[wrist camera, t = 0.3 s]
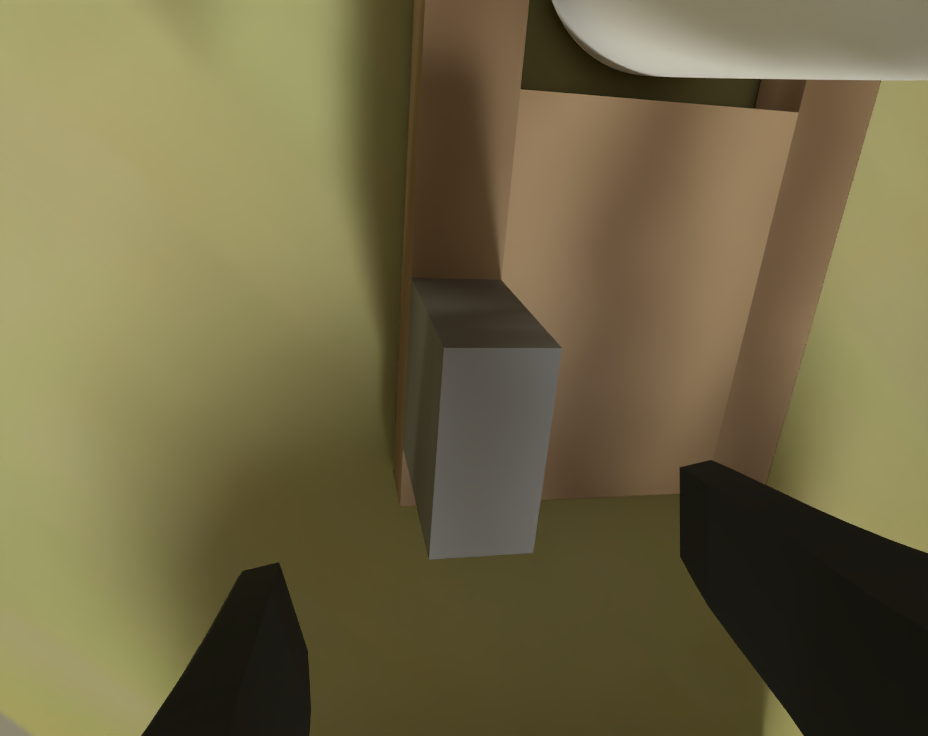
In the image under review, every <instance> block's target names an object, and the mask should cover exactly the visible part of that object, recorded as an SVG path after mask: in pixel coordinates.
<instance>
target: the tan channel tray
mask: <svg viewBox="0 0 928 736" xmlns="http://www.w3.org/2000/svg"><path fill="white" fill-rule="evenodd" d="M528 10H529V0H414V10H413V32H412V55H411V78H410V101H409V124H408V146H407V169H406V192H405V215H404V238H403V261H402V283H401V306H400V329H399V352H398V375H397V397H396V420H395V443H394V466H393V473H394V478H395V483H396V488H397V493H398V499H399V504H400V507H407V506H417V510H418V515H419V519H420V523H421V527H422V532H423V536H424V540H425V545H426V549H427V553H428V558H429V560H432V559H448V558H463V557H479V556H495V555H511V554H526V553H533V551H534V544H535V537H536V530H537V523H538V516H539V509H540V502H541V500H556V499H577V498H599V497H620V496H641V495H663V494H680V467H683V466H687V465H691V464H696V463H700V462H704V461H708V460H713V461H715V462H717V463H720V464H722V465H724V466H727V467H729V468H731V469H733V470H735V471H737V472H740V473H742V474H744V475H746V476H748V477H750V478H752V479H754V480H756V481H758V482H760V483H763V484H765V485H766V482H767V479H768V475H769V472H770V468H771V465H772V461H773V458H774V454H775V451H776V447H777V444H778V440H779V437H780V433H781V430H782V426H783V423H784V419H785V416H786V412H787V409H788V405H789V402H790V398H791V395H792V391H793V388H794V384H795V381H796V377H797V374H798V370H799V367H800V363H801V360H802V356H803V353H804V349H805V346H806V342H807V339H808V335H809V332H810V328H811V325H812V321H813V318H814V314H815V311H816V307H817V304H818V300H819V297H820V293H821V290H822V286H823V283H824V279H825V276H826V272H827V269H828V265H829V262H830V258H831V255H832V251H833V247H834V244H835V240H836V237H837V233H838V230H839V226H840V223H841V219H842V216H843V212H844V209H845V205H846V202H847V198H848V195H849V191H850V188H851V184H852V181H853V177H854V174H855V170H856V167H857V163H858V160H859V156H860V153H861V149H862V146H863V142H864V139H865V135H866V132H867V128H868V125H869V121H870V118H871V114H872V111H873V107H874V104H875V100H876V97H877V93H878V90H879V86H880V83H881V80H805V79H761V83H760V88H759V92H758V97H757V101H756V106H755V109H751V108H739V107H727V106H715V105H703V104H691V103H679V102H667V101H655V100H643V99H632V98H620V97H608V96H596V95H584V94H572V93H560V92H548V91H536V90H524V89H521V79H522V69H523V59H524V50H525V40H526V30H527V20H528Z"/></svg>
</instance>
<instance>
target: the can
mask: <svg viewBox="0 0 928 736" xmlns="http://www.w3.org/2000/svg"><path fill="white" fill-rule="evenodd" d="M552 2H553V5H554V7H555V10H556V12H557V14H558V16H559V18H560V20H561V22H562V24H563V25H564V27H565V28H566V30H567V31H568V33H569V34H570V36H571V37H572V38H573V39H574V40H575V42H576V43H577V44H578V45H579V46H580V47H581V48H582V49H583V50H585V51H586V52H587V53H588V54H589V55H591V56H592V57H593V58H595V59H596V60H598V61H599V62H601V63H603V64H605V65H607V66H609V67H611V68H613V69H616V70H619V71H622V72H625V73H630V74H634V75H642V76H657V77H690V78H740V79H805V80H928V0H552Z"/></svg>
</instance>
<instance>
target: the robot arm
mask: <svg viewBox="0 0 928 736" xmlns="http://www.w3.org/2000/svg"><path fill="white" fill-rule="evenodd" d="M680 557H681V559H682V561H683V562H684V564H685V566H686V568H687V570H688V572H689V573H690V575H691V577H692V579H693V581H694V583H695V584H696V586H697V588H698V590H699V591H700V593H701V595H702V596H703V598H704V600H705V601H706V603H707V605H708V606H709V608H710V609H711V610H712V612H713V613H714V615H715V616H716V617H717V619H718V620H719V621H720V623H721V624H722V625H723V627H724V628H725V630H726V631H727V632H728V634H729V635H730V636H731V638H732V639H733V640H734V642H735V643H736V644H737V646H738V647H739V648H740V650H741V651H742V652H743V654H744V655H745V656H746V658H747V659H748V660H749V662H750V663H751V664H752V666H753V667H754V668H755V670H756V671H757V672H758V674H759V675H760V676H761V678H762V679H763V680H764V682H765V683H766V684H767V685H768V687H769V688H770V689H771V691H772V692H773V693H774V695H775V696H776V697H777V699H778V700H779V701H780V703H781V704H782V705H783V707H784V708H785V709H786V711H787V712H788V714H789V715H790V716H791V718H792V719H793V721H794V722H795V724H796V725H797V727H798V728H799V729H800V731H801V732H802V734H803V735H804V736H928V553H925V552H922V551H919V550H917V549H914V548H911V547H908V546H905V545H903V544H900V543H897V542H894V541H892V540H889V539H887V538H884V537H882V536H879V535H877V534H874V533H872V532H869V531H867V530H864V529H862V528H859V527H857V526H855V525H852V524H850V523H847V522H845V521H843V520H840V519H838V518H836V517H834V516H831V515H829V514H827V513H824V512H822V511H820V510H818V509H816V508H813V507H811V506H809V505H807V504H805V503H803V502H800V501H798V500H796V499H794V498H792V497H790V496H788V495H786V494H783V493H781V492H779V491H777V490H775V489H773V488H771V487H769V486H767V485H765V484H763V483H760V482H758V481H756V480H754V479H752V478H750V477H748V476H746V475H744V474H742V473H740V472H737V471H735V470H733V469H731V468H729V467H727V466H724V465H722V464H720V463H717V462H715V461H713V460H708V461H704V462H700V463H696V464H691V465H687V466H683V467H680ZM310 715H311V703H310V681H309V664H308V650H307V647H306V644H305V641H304V638H303V635H302V632H301V629H300V626H299V622H298V619H297V616H296V613H295V610H294V607H293V604H292V601H291V598H290V594H289V591H288V588H287V585H286V582H285V579H284V576H283V573H282V570H281V566H280V563H275V564H270V565H266V566H262V567H258V568H254V569H249V570H245V571H243V572H242V573H241V574H240V576H239V577H238V579H237V580H236V582H235V584H234V586H233V588H232V589H231V591H230V593H229V595H228V597H227V599H226V600H225V602H224V604H223V606H222V608H221V610H220V611H219V613H218V615H217V617H216V618H215V620H214V622H213V624H212V626H211V627H210V629H209V631H208V633H207V634H206V636H205V638H204V639H203V641H202V643H201V644H200V646H199V648H198V649H197V651H196V653H195V654H194V656H193V658H192V659H191V661H190V663H189V664H188V666H187V668H186V669H185V671H184V673H183V674H182V676H181V677H180V679H179V680H178V682H177V684H176V685H175V687H174V688H173V690H172V691H171V693H170V694H169V696H168V697H167V699H166V700H165V702H164V703H163V705H162V706H161V708H160V709H159V710H158V712H157V713H156V715H155V716H154V718H153V719H152V721H151V722H150V724H149V725H148V727H147V728H146V730H145V731H144V732H143V734H142V735H141V736H309V732H310Z"/></svg>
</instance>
